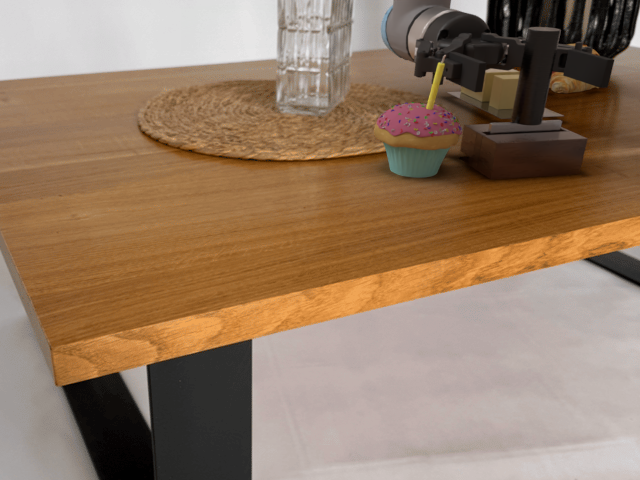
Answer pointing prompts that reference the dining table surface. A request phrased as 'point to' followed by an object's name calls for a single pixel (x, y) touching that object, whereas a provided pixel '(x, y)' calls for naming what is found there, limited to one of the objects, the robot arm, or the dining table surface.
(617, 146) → the dining table surface
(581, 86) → the croissant
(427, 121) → the cupcake
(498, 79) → the butter pat
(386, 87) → the dining table surface
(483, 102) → the butter board
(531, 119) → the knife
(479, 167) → the knife block
